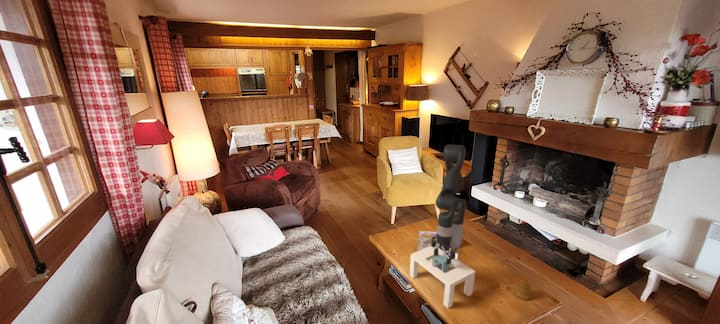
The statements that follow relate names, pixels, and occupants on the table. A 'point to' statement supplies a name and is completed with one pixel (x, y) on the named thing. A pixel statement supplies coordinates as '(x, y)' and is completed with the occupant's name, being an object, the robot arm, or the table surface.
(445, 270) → the teal u-channel bracket
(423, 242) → the candy bar box
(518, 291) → the ornamental finial
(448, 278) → the cutout shelf
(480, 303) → the table surface
